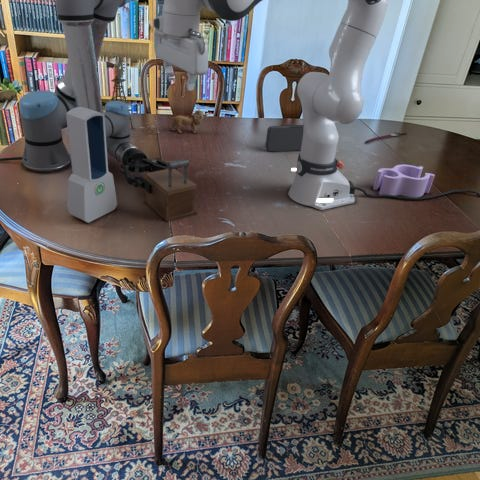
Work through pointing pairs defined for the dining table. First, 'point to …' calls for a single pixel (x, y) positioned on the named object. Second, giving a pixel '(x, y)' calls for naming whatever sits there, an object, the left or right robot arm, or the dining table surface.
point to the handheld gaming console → (284, 138)
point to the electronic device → (89, 166)
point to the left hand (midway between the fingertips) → (165, 185)
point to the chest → (171, 202)
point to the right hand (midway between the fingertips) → (179, 84)
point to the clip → (403, 181)
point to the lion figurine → (188, 121)
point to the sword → (384, 137)
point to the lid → (172, 178)
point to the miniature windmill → (118, 81)
